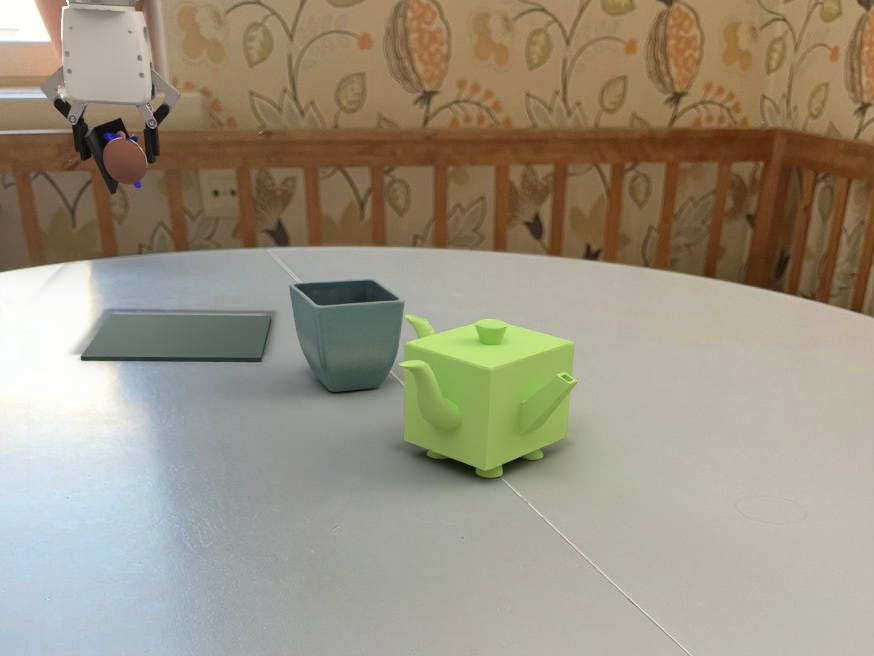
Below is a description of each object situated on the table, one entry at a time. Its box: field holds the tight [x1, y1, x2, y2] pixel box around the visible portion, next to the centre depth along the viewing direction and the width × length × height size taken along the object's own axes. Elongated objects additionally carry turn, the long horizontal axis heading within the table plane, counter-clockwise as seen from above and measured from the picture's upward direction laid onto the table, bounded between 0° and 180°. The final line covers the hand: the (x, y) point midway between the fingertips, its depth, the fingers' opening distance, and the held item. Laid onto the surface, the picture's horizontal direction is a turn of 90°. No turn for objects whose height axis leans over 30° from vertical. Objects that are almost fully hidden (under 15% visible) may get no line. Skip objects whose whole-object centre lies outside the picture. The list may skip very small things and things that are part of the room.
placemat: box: [80, 313, 272, 362], centre depth 114 cm, size 18×16×1 cm
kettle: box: [398, 314, 579, 479], centre depth 86 cm, size 15×14×11 cm
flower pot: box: [288, 278, 406, 393], centre depth 101 cm, size 9×9×9 cm
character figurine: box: [84, 117, 148, 196], centre depth 131 cm, size 8×7×15 cm
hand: (118, 159), depth 131 cm, fingers closed on character figurine, 7 cm apart
